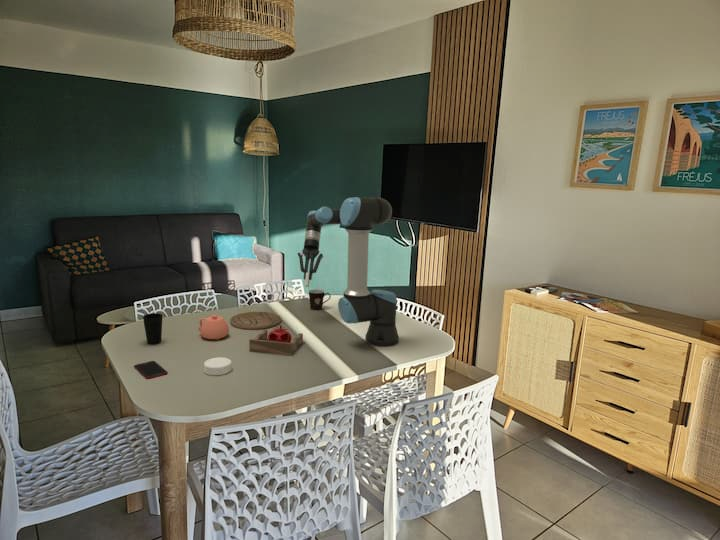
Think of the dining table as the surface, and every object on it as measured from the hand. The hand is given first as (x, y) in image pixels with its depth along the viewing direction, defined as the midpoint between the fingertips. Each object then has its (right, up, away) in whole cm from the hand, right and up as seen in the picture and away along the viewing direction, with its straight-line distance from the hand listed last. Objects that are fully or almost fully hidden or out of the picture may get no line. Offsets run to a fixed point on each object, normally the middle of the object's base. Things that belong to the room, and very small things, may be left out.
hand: (306, 285), depth 232 cm
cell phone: (-52, -30, -55) cm, 82 cm away
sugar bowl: (-40, -23, -17) cm, 49 cm away
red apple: (-9, -25, -26) cm, 37 cm away
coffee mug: (+3, -14, +31) cm, 35 cm away
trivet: (-26, -19, +5) cm, 33 cm away
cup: (-63, -24, -27) cm, 72 cm away
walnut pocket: (-10, -25, -26) cm, 38 cm away
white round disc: (-28, -30, -53) cm, 67 cm away
